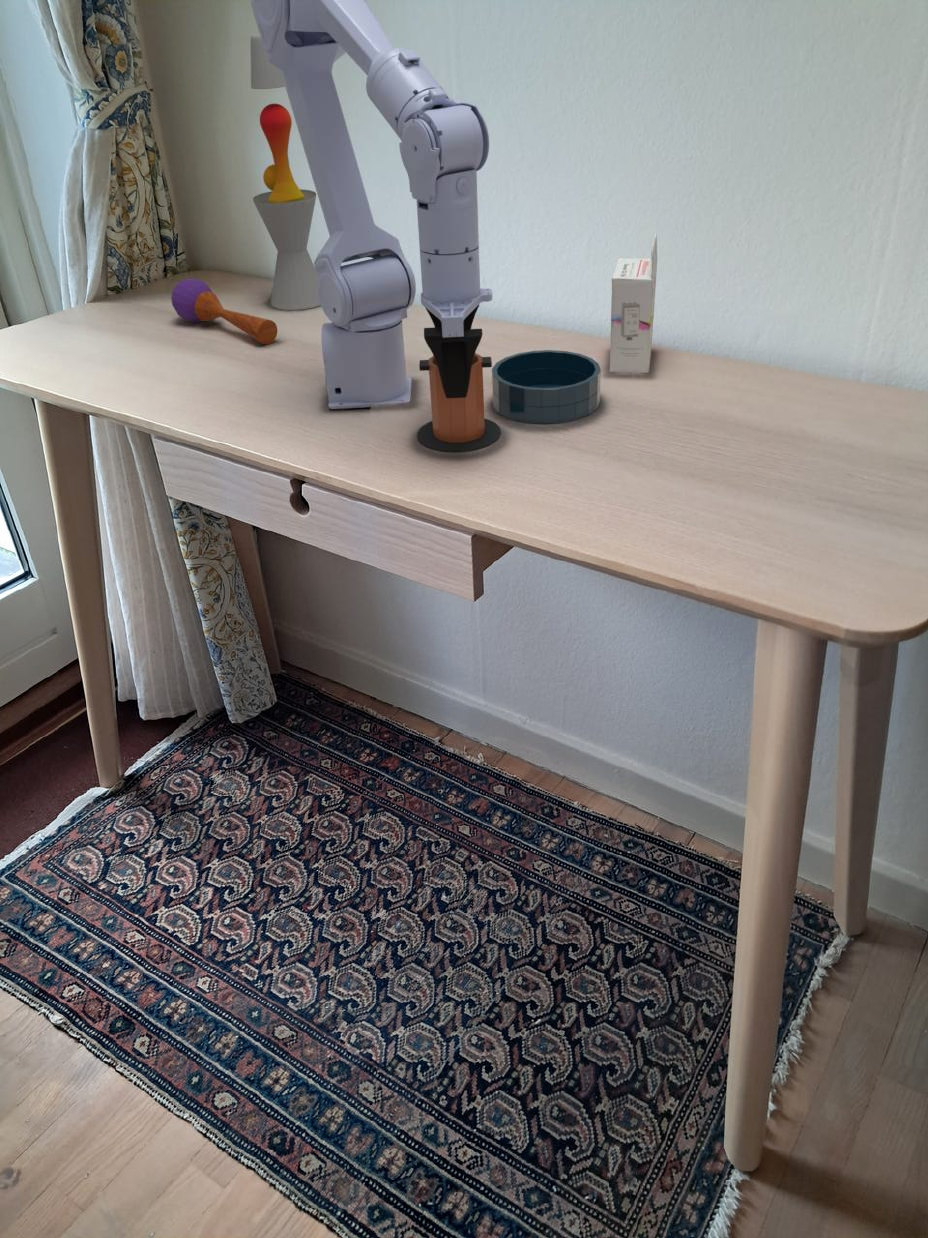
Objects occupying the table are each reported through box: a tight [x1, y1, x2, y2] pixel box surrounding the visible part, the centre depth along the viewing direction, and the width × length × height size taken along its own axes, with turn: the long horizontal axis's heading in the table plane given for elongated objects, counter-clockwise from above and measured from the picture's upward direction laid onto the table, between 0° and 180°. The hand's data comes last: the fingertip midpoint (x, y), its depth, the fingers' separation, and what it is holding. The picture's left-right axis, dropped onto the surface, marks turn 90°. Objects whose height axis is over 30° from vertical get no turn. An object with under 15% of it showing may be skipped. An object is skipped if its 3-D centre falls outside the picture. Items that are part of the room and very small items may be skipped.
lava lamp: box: [250, 32, 321, 311], centre depth 139 cm, size 9×9×35 cm
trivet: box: [416, 417, 502, 454], centre depth 106 cm, size 9×9×1 cm
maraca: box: [170, 278, 278, 346], centre depth 138 cm, size 6×6×20 cm
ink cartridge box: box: [609, 232, 658, 374], centre depth 117 cm, size 9×5×15 cm, turn 168°
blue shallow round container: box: [491, 349, 602, 425], centre depth 111 cm, size 12×12×4 cm
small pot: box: [418, 352, 493, 443], centre depth 103 cm, size 7×6×8 cm
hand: (455, 382), depth 102 cm, fingers open, 7 cm apart
